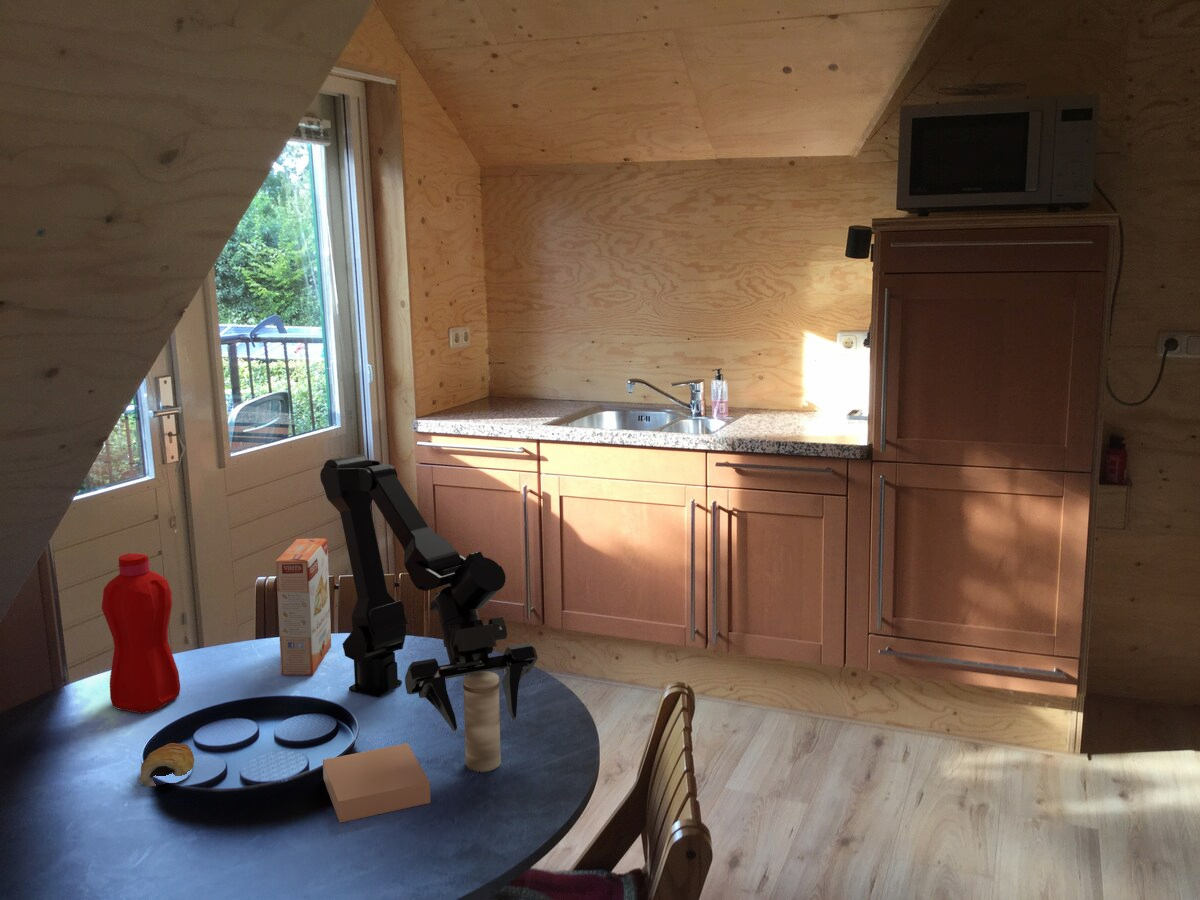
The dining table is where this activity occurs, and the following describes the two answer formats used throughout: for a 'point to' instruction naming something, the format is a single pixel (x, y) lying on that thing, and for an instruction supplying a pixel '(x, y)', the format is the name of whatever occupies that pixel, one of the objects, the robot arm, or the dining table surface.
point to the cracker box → (303, 606)
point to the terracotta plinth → (375, 782)
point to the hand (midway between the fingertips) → (485, 724)
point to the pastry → (166, 762)
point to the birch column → (482, 721)
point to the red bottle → (140, 637)
